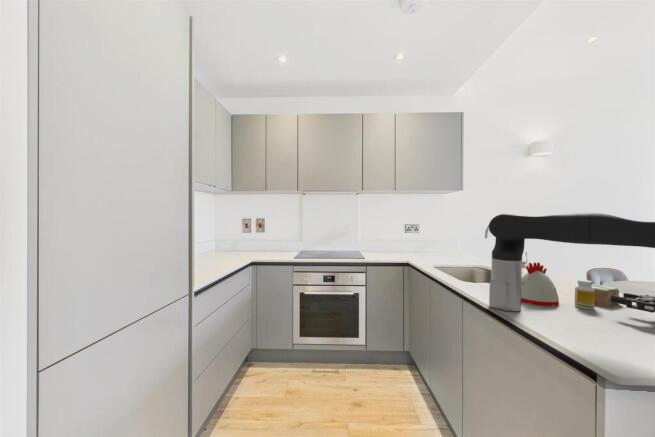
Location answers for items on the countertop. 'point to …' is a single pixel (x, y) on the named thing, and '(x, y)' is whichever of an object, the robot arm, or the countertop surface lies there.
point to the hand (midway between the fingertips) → (617, 297)
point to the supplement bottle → (584, 295)
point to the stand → (604, 295)
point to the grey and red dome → (538, 287)
